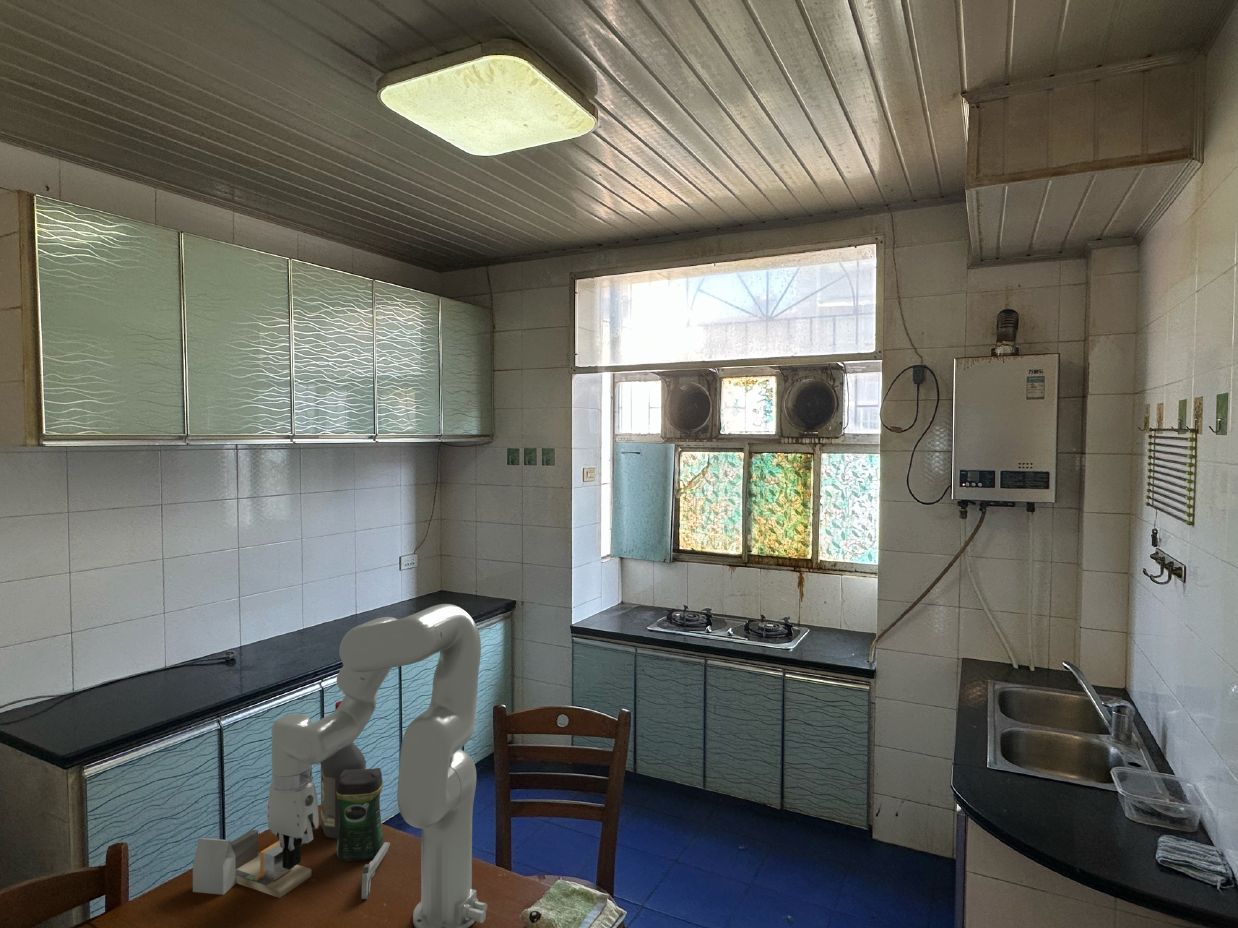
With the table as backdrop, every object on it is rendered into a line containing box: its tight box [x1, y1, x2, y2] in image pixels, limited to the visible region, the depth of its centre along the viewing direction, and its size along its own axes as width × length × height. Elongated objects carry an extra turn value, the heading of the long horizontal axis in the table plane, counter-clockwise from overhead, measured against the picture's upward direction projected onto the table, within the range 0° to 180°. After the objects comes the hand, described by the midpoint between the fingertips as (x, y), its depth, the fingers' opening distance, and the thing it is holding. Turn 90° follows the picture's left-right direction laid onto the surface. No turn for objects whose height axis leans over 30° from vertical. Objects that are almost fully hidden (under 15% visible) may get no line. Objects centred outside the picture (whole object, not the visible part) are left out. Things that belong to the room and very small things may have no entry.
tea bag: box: [192, 837, 236, 895], centre depth 145 cm, size 4×7×10 cm, turn 83°
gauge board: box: [230, 829, 312, 899], centre depth 148 cm, size 16×8×7 cm, turn 67°
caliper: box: [361, 841, 391, 900], centre depth 151 cm, size 20×1×6 cm, turn 5°
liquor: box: [320, 700, 367, 840], centre depth 168 cm, size 9×9×30 cm
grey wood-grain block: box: [264, 843, 294, 880], centre depth 147 cm, size 3×5×5 cm, turn 157°
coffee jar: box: [336, 767, 384, 862], centre depth 158 cm, size 10×8×19 cm
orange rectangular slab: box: [255, 840, 280, 881], centre depth 147 cm, size 1×6×5 cm, turn 157°
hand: (291, 864), depth 146 cm, fingers closed
